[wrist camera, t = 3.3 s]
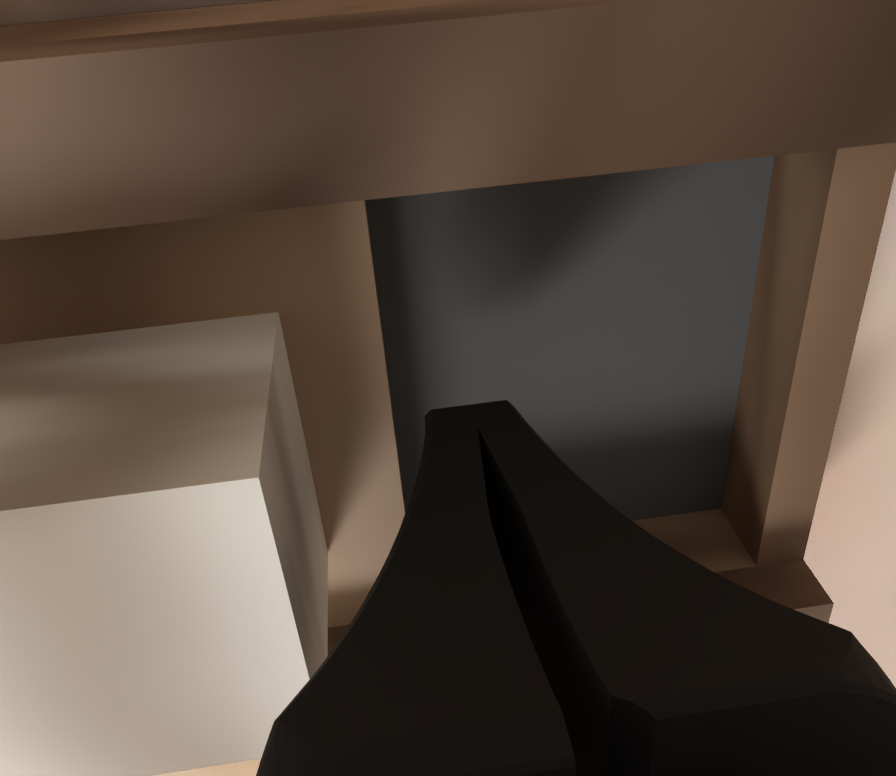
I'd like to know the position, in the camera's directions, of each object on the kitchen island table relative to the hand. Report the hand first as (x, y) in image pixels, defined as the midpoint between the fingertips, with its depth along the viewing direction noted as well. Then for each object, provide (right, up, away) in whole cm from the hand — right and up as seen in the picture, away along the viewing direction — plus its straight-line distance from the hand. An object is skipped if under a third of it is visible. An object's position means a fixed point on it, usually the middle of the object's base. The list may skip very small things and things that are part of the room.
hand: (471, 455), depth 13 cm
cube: (-5, 0, 0) cm, 5 cm away
